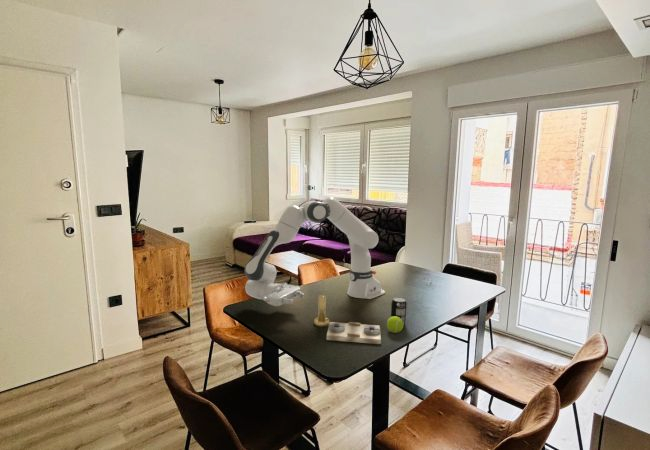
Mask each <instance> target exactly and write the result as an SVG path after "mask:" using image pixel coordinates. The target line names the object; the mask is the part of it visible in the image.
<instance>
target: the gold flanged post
mask: <svg viewBox="0 0 650 450" xmlns="http://www.w3.org/2000/svg"><path fill="white" fill-rule="evenodd" d="M317 305H318V308H317V317H315V318H314V319H313V325H314V326H315V327H318V328H326V327H329V323H330V319H329V318H328V317H327V316H326V315H327V314H326V311H327V295H325V294H320V295H318V301H317Z"/></svg>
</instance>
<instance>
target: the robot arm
mask: <svg viewBox="0 0 650 450" xmlns="http://www.w3.org/2000/svg"><path fill="white" fill-rule="evenodd" d="M325 219H327V220H329V221H330V222H331V223H332V224H333V225H334V226H335V227H336V228H337V229H339V231H340V232H342V233H344V234H345V235H346V237H347V239H348V244H349V250H350V258H351V259H350V269H349V284H348V289H347V291H346V292H347V293H346V294H347V295H348V296H349V297H353V298H356V299H365V300H366V299H367V300H371V299H374V298H377V297H379V296H381V295H385V294H386V291H385V290H384V289H382V284H381V282H380V281H379V280H378V279H376V277H374V275H376V274H377V271H376V270H373V269H372V270H371V265H372V264H371V263H372V257H371V254H370V250H371V249H374V248H375V247H376V246H377V245H378V244H379V240H380V238H379V235H378V233H377V232H375V230H373V229H372V228H371V227H369V225H367V224H366V223H365V222H364V221H362V220H361V219H359V218H358V217H357V216H355V214H353V212H351V210H349V209H348V208H347V207H346V205H344V204H342V203H341V202H340V201H339V200H338V199H336V198H334V197H331V196H327V197H326V198H325V199H323V200H322V201H318V200H306V201H303V202H302V203H301V204H299V205H293V204H292V205H291V204H290V205H289V206H288V207H286V209H285V210H284V212H283V213H282V214H281V216H280V218H279V220H278V222H277V224H276V225H275V227H274V228H273V229H272V230H271V231H269V232H268V233H267V235H266V236H265V237H264V239H263V241H262V242H261V243H260V245H259V247H258V249H256V251H255V253H254V254H253V256H252V257H251V258H250V259H249V260H248V261H246V264H245V265H244V266H245V267H244V275H245V277H246V278H247V279H248V280H247V281H246V282H245V286H244V290H245V292H246V294H247V295H248V296H250V297H252V298H255V299H258V300H263V301H264V302H266V303H267V304H268V305H269V306H270V305H271V306H274V307H280V306H282V305H286V304H290V305H292V304H294V303H295V298H297V297H299V298H302V299H303V298H305V293H303V292H302V291H301V287H299V286H297V285H293V284H288V283H287V282H279V283H276V282H275V281H276V278H277V275H278V274H277V273H278V271H277V268H276V266H275V265H274V264H272V263H269V262H266V261H267V259H268V257H269V256H270V255H271V252H272V251H273V249H275V248H276V247H277V246H279V245H282V244H284V245H285V244H289V243H291V242H292V241H293V240H294V239H295V238H296V237H297V235H298V233H299V230H300V228H301V225H302V224H303V223H304V222H305V221H306V222H310V223H316V224H317V223H320V222H323V221H324V220H325ZM369 249H370V250H369Z"/></svg>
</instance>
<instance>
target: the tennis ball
mask: <svg viewBox="0 0 650 450" xmlns="http://www.w3.org/2000/svg"><path fill="white" fill-rule="evenodd" d="M386 327H387V329H388V331H389V332H391V333H394V334H398V333H400V332H401V331H402V330H403V328H404V326H403V321H402V320H401V319H400V318H399V317H397V316H392V317H391V316H390V317H389V318H388V319H387V322H386Z"/></svg>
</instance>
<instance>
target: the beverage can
mask: <svg viewBox="0 0 650 450" xmlns="http://www.w3.org/2000/svg"><path fill="white" fill-rule="evenodd" d="M406 300H407V299H406V298H404V297H401V296H396V297H393V298H392V301H391V310H390V317H392V316H397V317H399V318H400V319H401V320H402V321H403V327H404V326H405V325H406V320H407V319H406V318H407V316H406V315H407V301H406Z"/></svg>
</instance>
